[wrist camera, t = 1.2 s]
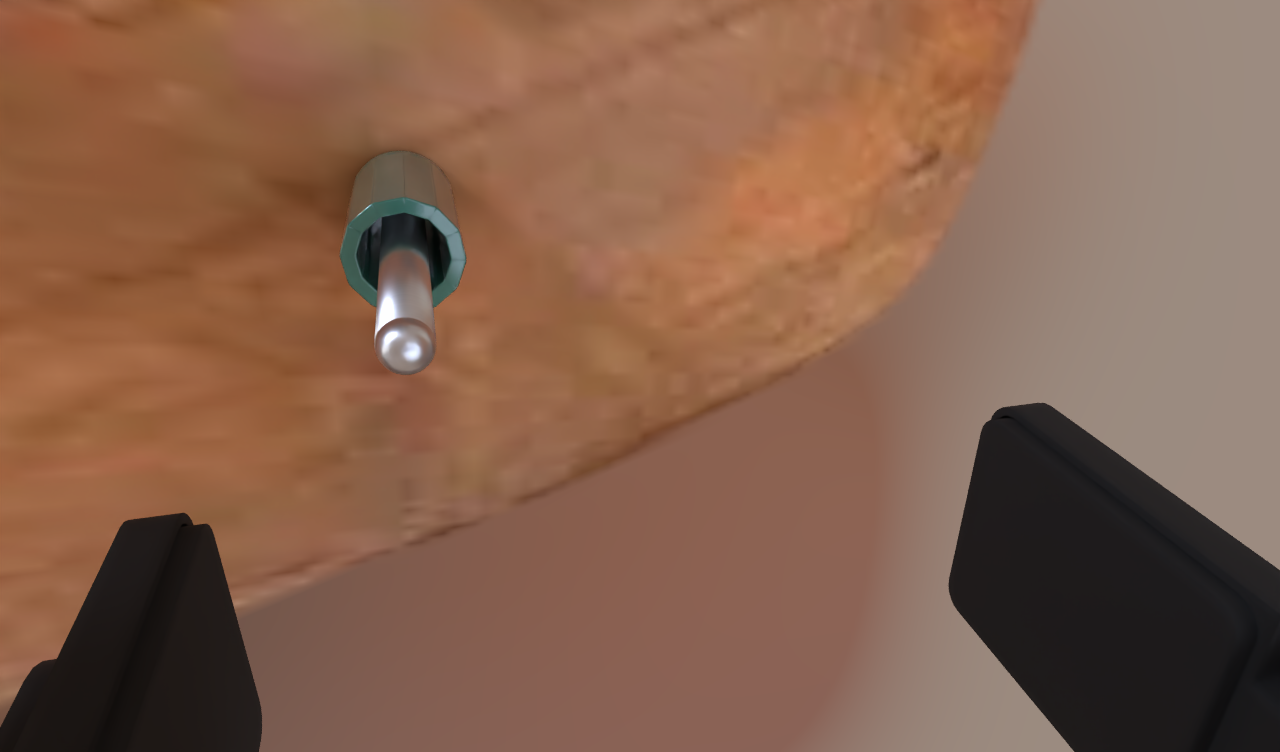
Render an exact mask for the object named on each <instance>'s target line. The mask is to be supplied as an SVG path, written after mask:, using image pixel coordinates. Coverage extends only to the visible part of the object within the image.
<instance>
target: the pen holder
mask: <svg viewBox="0 0 1280 752" xmlns="http://www.w3.org/2000/svg"><path fill="white" fill-rule="evenodd" d="M401 213H407V214H410V215H413V216H417V217H420V218H423V219H425V225H426V236H427V247H428V257H429V268H430V279H431V290H432V301H433V308H434V307H436V306H437V305H438V304H440V303H441V302H442V301H443V300H444V299H445V298H447V297H448V296H449V295H450V294H451V293H452V292H454V291H455V290H456V289H457V287H458V285H459V282H460V279H461V276H462V273H463V270H464V267H465V264H466V253H465V249H464V244H463V239H462V234H461V230H460V225H459V220H458V215H457V211H456V206H455V202H454V198H453V193H452V189H451V185H450V182H449V180H448V179H447V177H446V176H445V174H444V173H443V172H442V170H441V169H440V168H439V167H438V166H437V165H436V164H435V163H433V162H432V161H431V160H429V159H428V158H426V157H424V156H422V155H419V154H417V153H413V152H408V151H391V152H387V153H383V154H381V155H378V156H376V157H374V158H373V159H371V160H370V161H369V162H367V163H366V164H365V165H364V166H363V167H362V169H361V170H360V171H359V173H358V174H357V176H356V178H355V181H354V184H353V189H352V192H351V196H350V200H349V205H348V211H347V216H346V221H345V227H344V232H343V237H342V242H341V248H340V259H341V262H342V265H343V269H344V272H345V275H346V278H347V281H348V283H349V285H350V286H351V287H352V288H353V289H354V290H355V291H356V292H357V293H359V294H360V295H361V296H362V297H363V298H364V299H365V300H366V301H367V302H368V303H370V304H371V305H373V306H374V307H377V292H378V276H379V259H380V243H381V227H382V217H386V216H391V215H396V214H401Z"/></svg>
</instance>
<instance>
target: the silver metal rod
mask: <svg viewBox="0 0 1280 752" xmlns="http://www.w3.org/2000/svg"><path fill="white" fill-rule="evenodd" d="M374 347H375V352H376V356H377V358H378V360H379V361H380V362H381V364H382V365H383V366H384V367H385V368H387V369H388V370H390V371H391V372H394V373H397V374H401V375H410V374H415V373H418V372H420V371H422V370H423V369H425V368H426V367H427V366H428V365H429V364H430V363H431V361H432V360H433V358H434V356H435V352H436V333H435V322H434V312H433V301H432V290H431V279H430V268H429V257H428V247H427V236H426V225H425V219H423V218H420V217H417V216H413V215H410V214H407V213H401V214H396V215H391V216H386V217H382V227H381V243H380V259H379V276H378V292H377V309H376V325H375V342H374Z"/></svg>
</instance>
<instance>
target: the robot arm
mask: <svg viewBox="0 0 1280 752" xmlns="http://www.w3.org/2000/svg"><path fill="white" fill-rule="evenodd" d="M949 593H950V596H951V600H952V602H953V604H954V606H955V607H956V609H957V611H958V612H959V613H960V614H961V615H962V616H963V618H964V619H965V620H966V621H967V623H968V624H969V625H970V626H971V627H972V629H973V630H974V631H975V632H976V633H977V635H978V636H979V637H980V638H981V639H982V641H983V642H984V643H985V644H986V645H987V647H988V648H989V649H990V650H991V652H992V653H993V654H994V655H995V656H996V657H997V659H998V660H999V661H1000V662H1001V664H1002V665H1003V666H1004V667H1005V668H1006V670H1007V671H1008V672H1009V673H1010V674H1011V676H1012V677H1013V678H1014V679H1015V681H1016V682H1017V683H1018V684H1019V685H1020V687H1021V688H1022V689H1023V690H1024V691H1025V693H1026V694H1027V695H1028V696H1029V697H1030V699H1031V700H1032V701H1033V702H1034V703H1035V705H1036V706H1037V707H1038V708H1039V709H1040V711H1041V712H1042V713H1043V714H1044V715H1045V716H1046V718H1047V719H1048V720H1049V721H1050V723H1051V724H1052V725H1053V726H1054V728H1055V729H1056V730H1057V731H1058V732H1059V734H1060V735H1061V736H1062V737H1063V738H1064V740H1065V741H1066V742H1067V743H1068V744H1069V746H1070V747H1071V748H1072V749H1073V751H1074V752H1280V570H1279V569H1277V568H1276V567H1275V566H1273V565H1272V564H1270V563H1269V562H1268V561H1266V560H1265V559H1263V558H1262V557H1261V556H1259V555H1258V554H1256V553H1255V552H1254V551H1252V550H1251V549H1249V548H1248V547H1246V546H1245V545H1244V544H1242V543H1241V542H1240V541H1238V540H1237V539H1235V538H1234V537H1233V536H1231V535H1230V534H1228V533H1227V532H1226V531H1224V530H1223V529H1222V528H1220V527H1219V526H1217V525H1216V524H1215V523H1213V522H1212V521H1210V520H1209V519H1208V518H1206V517H1205V516H1203V515H1202V514H1201V513H1199V512H1198V511H1196V510H1195V509H1194V508H1192V507H1191V506H1190V505H1188V504H1186V503H1185V502H1184V501H1183V500H1181V499H1180V498H1178V497H1177V496H1176V495H1174V494H1173V493H1171V492H1170V491H1169V490H1167V489H1166V488H1164V487H1163V486H1162V485H1160V484H1159V483H1157V482H1156V481H1155V480H1153V479H1152V478H1150V477H1149V476H1148V475H1146V474H1145V473H1144V472H1142V471H1141V470H1139V469H1138V468H1136V467H1135V466H1134V465H1132V464H1131V463H1130V462H1128V461H1127V460H1125V459H1124V458H1123V457H1121V456H1120V455H1118V454H1117V453H1116V452H1114V451H1113V450H1111V449H1110V448H1109V447H1107V446H1106V445H1104V444H1103V443H1102V442H1100V441H1099V440H1097V439H1096V438H1095V437H1093V436H1092V435H1091V434H1089V433H1088V432H1086V431H1085V430H1084V429H1082V428H1081V427H1079V426H1078V425H1077V424H1075V423H1074V422H1072V421H1071V420H1070V419H1068V418H1067V417H1066V416H1064V415H1063V414H1061V413H1060V412H1058V411H1057V410H1055V409H1054V408H1053V407H1052V406H1050V405H1047V404H1045V403H1033V404H1026V405H1018V406H1010V407H1003V408H1001V409H999V410H997V411H996V412H995V413H994V415H993V416H992V419H991V420H990V421H988V422H986V423H985V425H984V426H983V428H982V431H981V435H980V440H979V444H978V449H977V453H976V458H975V462H974V467H973V472H972V476H971V482H970V485H969V490H968V495H967V500H966V504H965V508H964V513H963V518H962V522H961V527H960V531H959V536H958V541H957V545H956V550H955V555H954V559H953V564H952V568H951V573H950V577H949ZM261 714H262V713H261V706H260V701H259V697H258V694H257V690H256V686H255V683H254V679H253V675H252V672H251V668H250V664H249V661H248V657H247V654H246V650H245V646H244V643H243V639H242V635H241V632H240V628H239V624H238V621H237V617H236V614H235V610H234V606H233V603H232V599H231V595H230V592H229V588H228V584H227V581H226V577H225V574H224V570H223V566H222V563H221V559H220V555H219V552H218V548H217V544H216V541H215V537H214V534H213V531H212V529H211V527H210V526H209V525H208V524H200V525H193V523H192V520H191V519H190V517H189V516H188V515H187V514H185V513H179V514H171V515H164V516H156V517H148V518H140V519H133V520H127V521H125V522H124V523H123V524H122V525H121V527H120V528H119V531H118V533H117V535H116V537H115V539H114V541H113V543H112V545H111V547H110V549H109V551H108V553H107V556H106V558H105V560H104V562H103V564H102V566H101V568H100V570H99V572H98V574H97V576H96V578H95V581H94V583H93V585H92V587H91V589H90V591H89V593H88V595H87V597H86V599H85V601H84V603H83V606H82V608H81V610H80V612H79V614H78V616H77V618H76V620H75V622H74V624H73V626H72V628H71V631H70V633H69V635H68V637H67V639H66V641H65V643H64V645H63V647H62V649H61V651H60V653H59V656H58V658H57V659H54V660H47V661H42V662H41V663H39V664H38V665H36V666H35V667H33V669H32V670H31V672H30V673H29V674H28V676H27V677H26V679H25V680H24V682H23V684H22V686H21V688H20V690H19V692H18V694H17V696H16V698H15V700H14V702H13V704H12V706H11V708H10V710H9V711H8V713H7V715H6V717H5V719H4V721H3V723H2V725H1V727H0V752H259V747H260V742H261V734H262V715H261Z"/></svg>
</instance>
